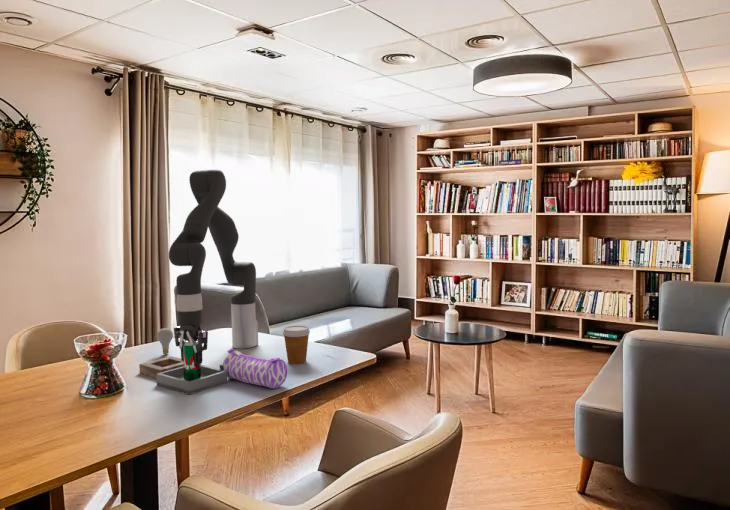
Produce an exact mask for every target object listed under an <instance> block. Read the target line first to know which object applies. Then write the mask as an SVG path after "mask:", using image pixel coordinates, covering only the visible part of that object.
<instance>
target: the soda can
mask: <svg viewBox="0 0 730 510" xmlns="http://www.w3.org/2000/svg"><path fill="white" fill-rule="evenodd" d="M197 341H198V340H197ZM197 341H194V342H197ZM197 348H198V345H197ZM194 353H195V351H194V348H193V346H191V344H190V342H189V341H185V343H184V345H183V362H184V380H186V381H193V380H196V379H199V378H201V365H202V363H201V364H198V365H197V364H195V356H194Z"/></svg>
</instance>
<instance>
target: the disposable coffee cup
mask: <svg viewBox="0 0 730 510" xmlns="http://www.w3.org/2000/svg"><path fill="white" fill-rule="evenodd" d="M310 332H311V330H310V328H309V326H307V325H290V326H289V325H288V326H286V327H284V328H283V330H282V334H283V337H284V344H285V351H286V357H287V363H288V364H290V365H301V363H302V364H305V363H306V362H307V355H308V346H309V344H308V343H309V337H310V336H309V335H310ZM304 362H305V363H304Z"/></svg>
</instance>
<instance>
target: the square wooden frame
mask: <svg viewBox="0 0 730 510" xmlns="http://www.w3.org/2000/svg"><path fill="white" fill-rule="evenodd" d="M138 366H139V374H141V375H145V376H148V377H152V378H154V379H157V375H156V374H158V373H161V372H165V371H168V370H172V369H176V368H179V367H183V366H184V362H183V361H182V360H181V357H178V356H177V357H176V356H172V355H171V356H167V357H163V358H159V359H155V360H151V361H146V362H143V363H140V364H139V365H138Z"/></svg>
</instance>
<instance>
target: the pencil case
mask: <svg viewBox="0 0 730 510" xmlns="http://www.w3.org/2000/svg"><path fill="white" fill-rule="evenodd" d="M227 353H228V355H227V356H226V357H225V358H224V360H223V361H222V364H219V369H221V370H225V371H227V378H228V379H232V380H237V381H240V382H243V383H248V384H252V385H256V386H261V387H267V388H270V389H277V388H280V387H281V386H282V385H283V384H284V383H285V381H286V379H287V377H288V367H287V363H286V362H285V361H284V359H281V357H276V358H274V357H273V358H270V359H266V358H260V357H255V356H251V355H247V354H243V352H241V351H239V350H235V348H231V349H229V350H227Z"/></svg>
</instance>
